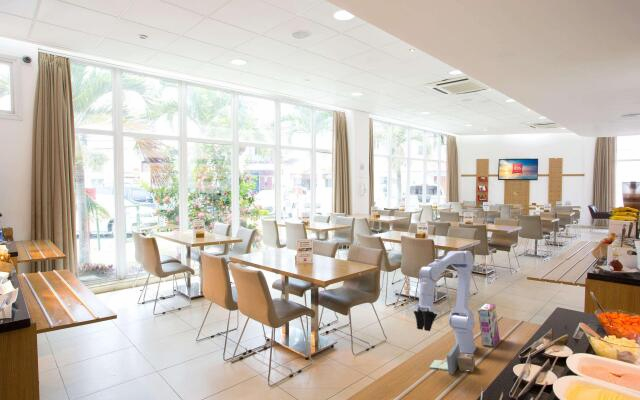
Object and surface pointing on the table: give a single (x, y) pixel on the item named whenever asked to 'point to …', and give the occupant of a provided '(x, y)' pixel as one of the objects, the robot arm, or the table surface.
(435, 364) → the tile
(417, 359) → the table surface
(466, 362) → the walnut letter cube
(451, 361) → the slate screen
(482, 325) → the candy bar box
